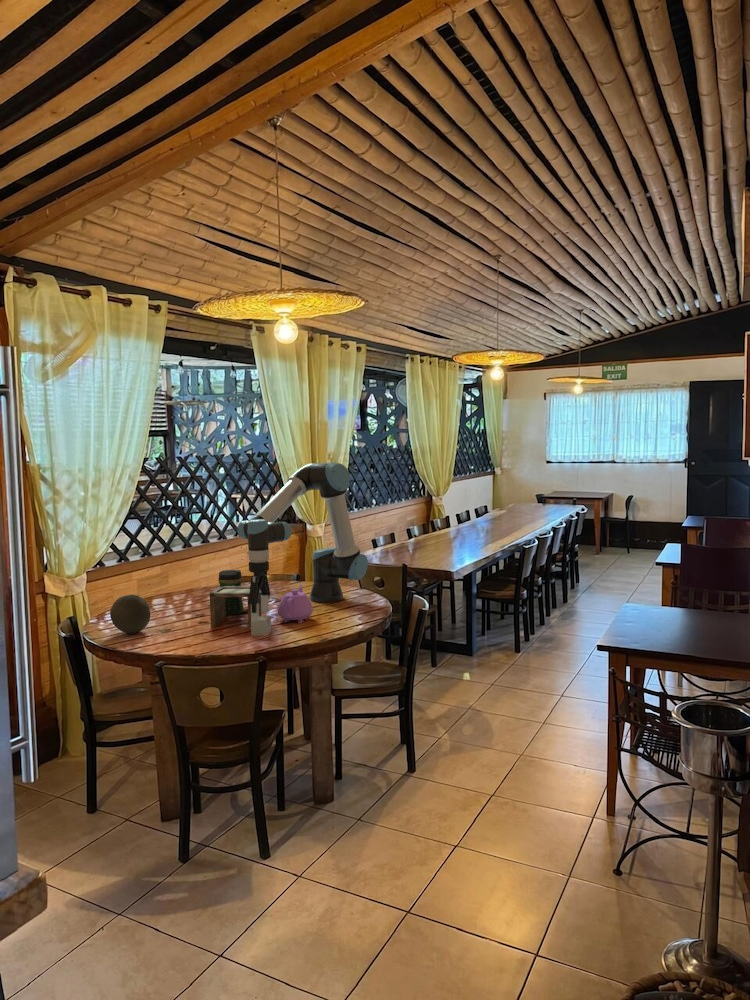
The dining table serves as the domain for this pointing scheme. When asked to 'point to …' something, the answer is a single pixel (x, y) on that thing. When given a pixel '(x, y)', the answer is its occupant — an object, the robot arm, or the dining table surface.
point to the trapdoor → (243, 591)
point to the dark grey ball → (130, 614)
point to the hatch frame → (219, 603)
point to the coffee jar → (231, 579)
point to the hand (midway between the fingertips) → (260, 616)
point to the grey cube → (261, 626)
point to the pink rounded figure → (295, 606)
